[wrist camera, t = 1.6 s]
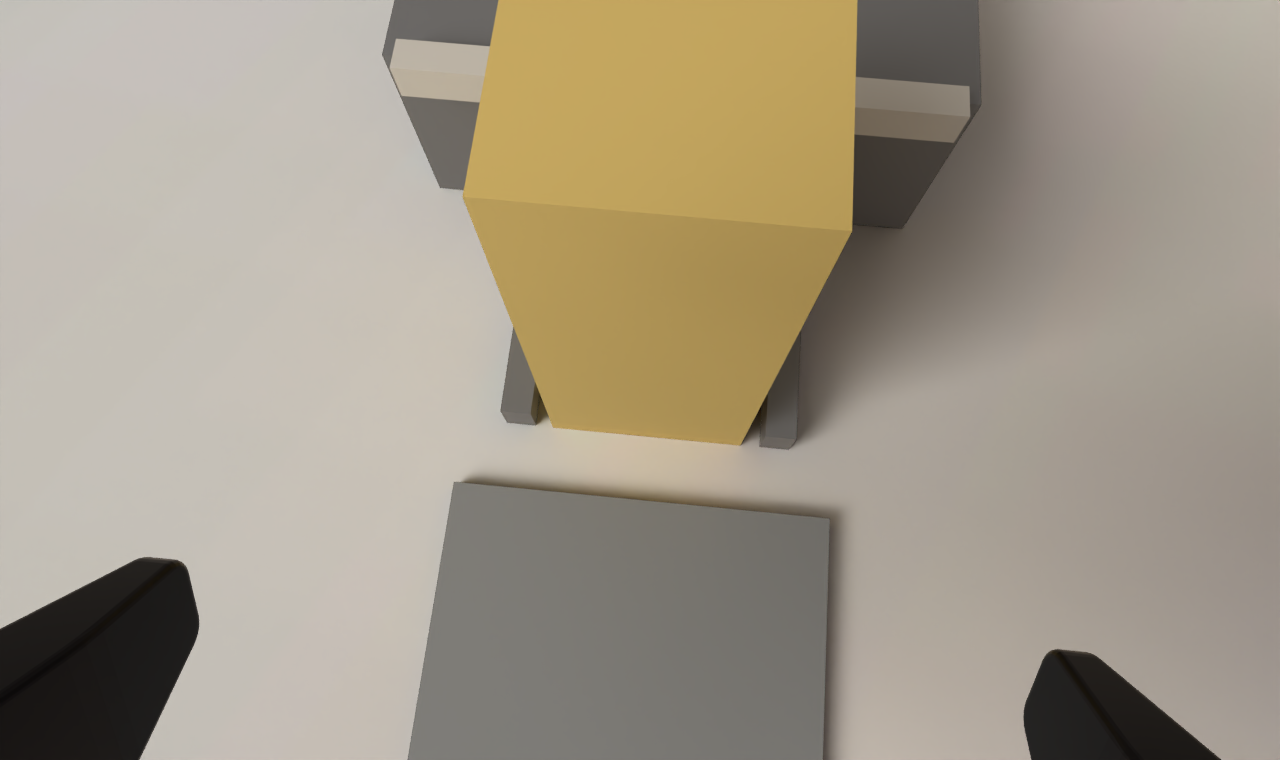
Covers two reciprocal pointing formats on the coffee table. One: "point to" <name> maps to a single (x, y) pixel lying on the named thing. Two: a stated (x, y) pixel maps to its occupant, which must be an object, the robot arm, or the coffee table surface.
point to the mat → (623, 631)
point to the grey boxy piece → (883, 136)
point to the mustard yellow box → (663, 199)
